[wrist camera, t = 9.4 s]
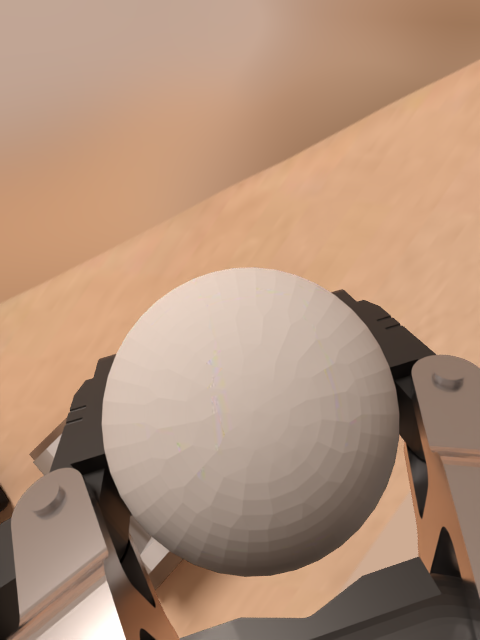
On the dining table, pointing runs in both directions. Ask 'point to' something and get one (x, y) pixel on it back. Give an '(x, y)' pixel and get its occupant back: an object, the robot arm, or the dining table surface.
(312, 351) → the light bulb
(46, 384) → the dining table surface
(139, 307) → the dining table surface
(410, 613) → the robot arm
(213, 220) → the dining table surface
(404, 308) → the dining table surface
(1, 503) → the battery
